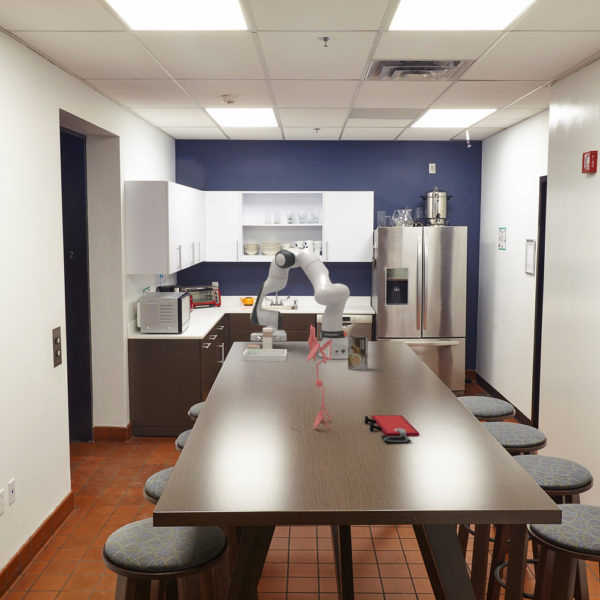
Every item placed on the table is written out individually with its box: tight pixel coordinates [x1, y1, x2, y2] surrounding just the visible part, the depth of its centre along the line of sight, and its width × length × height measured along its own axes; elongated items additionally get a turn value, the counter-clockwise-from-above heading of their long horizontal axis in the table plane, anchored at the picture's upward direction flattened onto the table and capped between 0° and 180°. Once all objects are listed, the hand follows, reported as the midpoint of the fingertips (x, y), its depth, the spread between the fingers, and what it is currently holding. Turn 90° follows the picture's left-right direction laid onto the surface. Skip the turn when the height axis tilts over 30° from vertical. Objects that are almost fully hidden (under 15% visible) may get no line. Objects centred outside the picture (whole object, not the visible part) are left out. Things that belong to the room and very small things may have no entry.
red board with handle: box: [364, 414, 420, 443], centre depth 224 cm, size 30×3×15 cm
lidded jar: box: [247, 343, 261, 355], centre depth 342 cm, size 6×6×7 cm
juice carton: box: [262, 327, 273, 349], centre depth 360 cm, size 5×5×14 cm
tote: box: [242, 348, 288, 362], centre depth 344 cm, size 22×18×4 cm
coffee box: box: [347, 334, 369, 371], centre depth 323 cm, size 9×6×16 cm
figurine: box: [291, 324, 336, 433], centre depth 228 cm, size 15×26×35 cm, turn 173°
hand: (267, 339), depth 361 cm, fingers open, 8 cm apart
